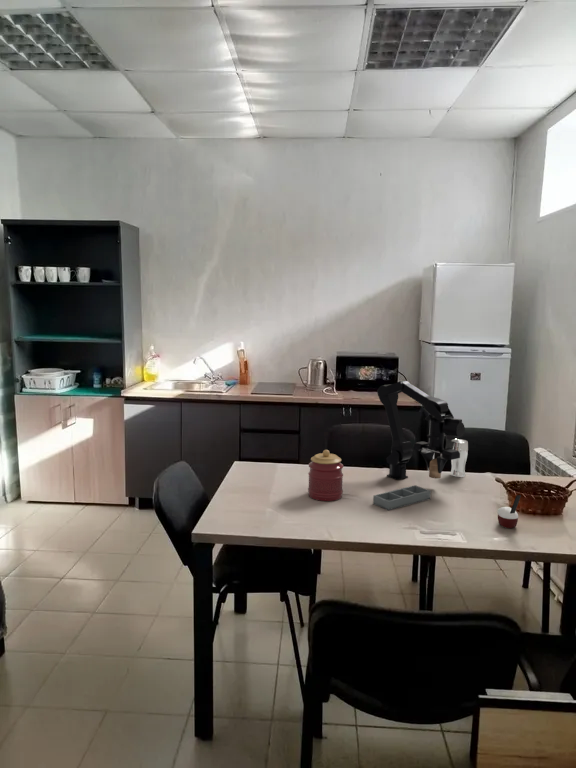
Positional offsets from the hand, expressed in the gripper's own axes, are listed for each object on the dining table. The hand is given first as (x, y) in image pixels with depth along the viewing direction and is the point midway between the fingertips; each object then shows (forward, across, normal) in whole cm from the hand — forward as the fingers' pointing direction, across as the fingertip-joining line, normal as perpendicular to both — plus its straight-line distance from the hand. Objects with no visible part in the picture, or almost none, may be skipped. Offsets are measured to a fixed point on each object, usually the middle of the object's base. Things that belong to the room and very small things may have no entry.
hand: (435, 471), depth 214 cm
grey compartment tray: (+7, -4, +22) cm, 23 cm away
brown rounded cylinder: (+2, 0, 0) cm, 2 cm away
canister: (+7, +16, +42) cm, 45 cm away
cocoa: (+7, -39, +10) cm, 41 cm away
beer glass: (+7, +6, -22) cm, 24 cm away
